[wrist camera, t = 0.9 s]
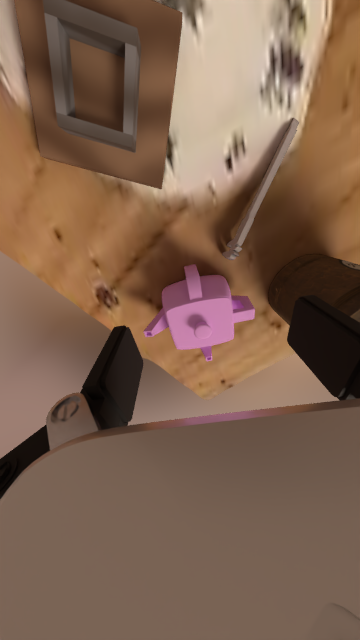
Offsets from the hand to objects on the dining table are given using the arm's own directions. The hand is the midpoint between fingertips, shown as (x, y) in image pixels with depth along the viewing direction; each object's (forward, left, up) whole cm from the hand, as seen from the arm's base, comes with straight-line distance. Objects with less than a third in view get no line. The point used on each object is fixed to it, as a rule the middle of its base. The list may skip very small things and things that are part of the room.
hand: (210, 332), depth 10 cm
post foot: (-16, -15, -28) cm, 36 cm away
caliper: (-10, +10, -29) cm, 32 cm away
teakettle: (+12, +5, -29) cm, 31 cm away
